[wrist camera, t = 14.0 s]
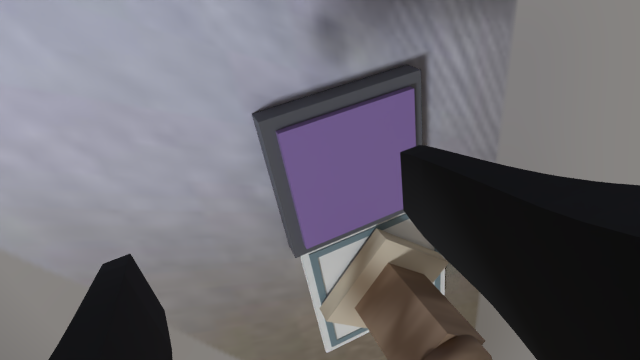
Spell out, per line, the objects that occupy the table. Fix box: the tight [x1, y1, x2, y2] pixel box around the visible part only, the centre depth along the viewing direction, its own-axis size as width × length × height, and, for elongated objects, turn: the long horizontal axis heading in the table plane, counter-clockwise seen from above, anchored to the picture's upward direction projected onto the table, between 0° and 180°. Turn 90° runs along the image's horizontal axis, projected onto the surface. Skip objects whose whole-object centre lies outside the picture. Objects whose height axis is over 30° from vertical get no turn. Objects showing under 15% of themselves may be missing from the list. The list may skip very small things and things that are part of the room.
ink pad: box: [252, 65, 422, 258], centre depth 22 cm, size 9×9×2 cm
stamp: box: [319, 228, 492, 360], centre depth 25 cm, size 7×7×9 cm
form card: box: [300, 212, 445, 353], centre depth 29 cm, size 11×11×1 cm
